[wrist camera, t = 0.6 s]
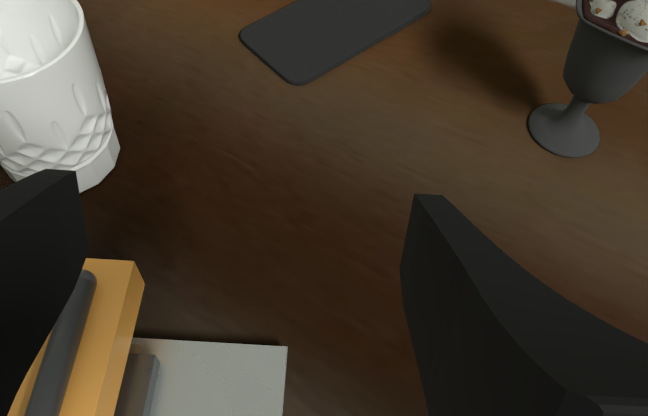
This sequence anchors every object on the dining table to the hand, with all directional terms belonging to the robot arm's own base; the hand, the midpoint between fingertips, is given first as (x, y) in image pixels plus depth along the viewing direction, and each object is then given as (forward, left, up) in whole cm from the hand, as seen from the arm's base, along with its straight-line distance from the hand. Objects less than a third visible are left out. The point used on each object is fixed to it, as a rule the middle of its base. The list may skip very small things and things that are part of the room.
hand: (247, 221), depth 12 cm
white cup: (+16, +14, -19) cm, 28 cm away
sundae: (+21, -19, -19) cm, 33 cm away
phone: (+31, -3, -19) cm, 36 cm away
